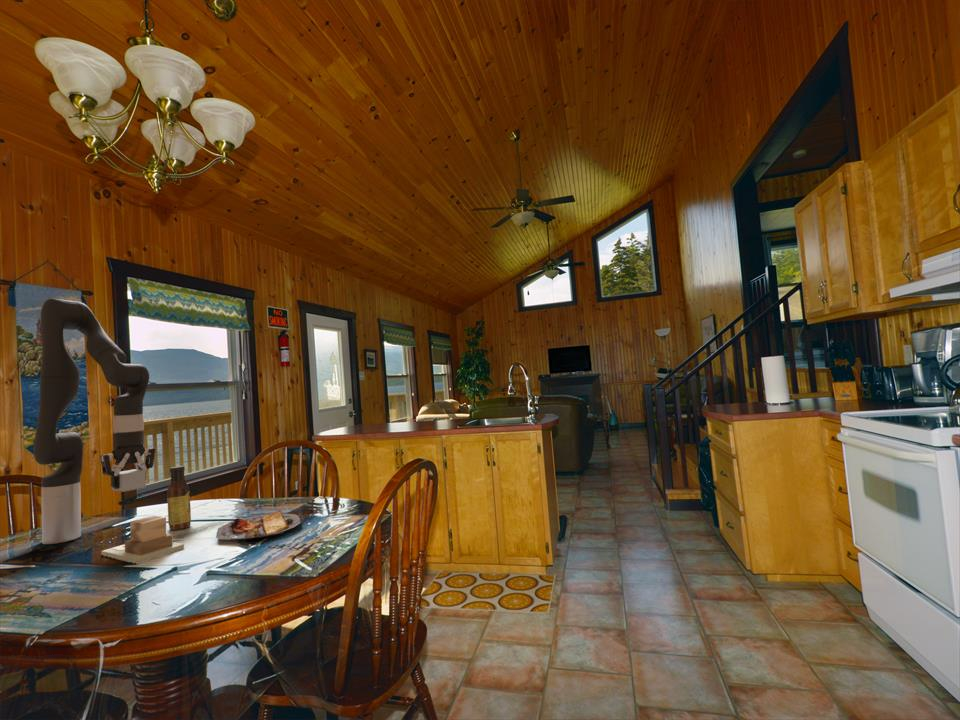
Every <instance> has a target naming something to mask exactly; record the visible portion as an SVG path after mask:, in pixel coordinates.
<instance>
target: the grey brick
mask: <svg viewBox="0 0 960 720" xmlns="http://www.w3.org/2000/svg"><path fill="white" fill-rule="evenodd" d="M118 476H120V488H119V489H113V487H111V491H116V492H123V493H124V492H128V491H133V490H138V489H143V488H146V487H147V486H146V484H147V483H146V480H147V470H146V471H145V470H138V469H128V470H122V471H120V473H119V475H118Z"/></svg>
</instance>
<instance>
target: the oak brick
mask: <svg viewBox="0 0 960 720" xmlns="http://www.w3.org/2000/svg"><path fill="white" fill-rule="evenodd" d="M166 517H167V516H159V515H150V516H147V517H143V518H139V519H135V520H132V521H131V520H130V522H129V523H130V524H129V526H130V531H129V532H130V539H131V540H133V541H138V542H146V541H149V540H153V539H156V538H160V537H163V536H166V534H167V518H166Z"/></svg>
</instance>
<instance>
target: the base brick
mask: <svg viewBox="0 0 960 720" xmlns="http://www.w3.org/2000/svg"><path fill="white" fill-rule="evenodd" d="M172 542H173V534H169V533H166V536H163V537H160V538H156V539H153V540H149V541H146V542H138V541H133V540H131V538H129V539H127V540H124V544H125V552H127V553H132V554H136V555H145V554H148V553H151V552H154V551H157V550H160V549H163V548H167V547H170V546H172Z"/></svg>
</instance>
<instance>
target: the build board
mask: <svg viewBox="0 0 960 720" xmlns="http://www.w3.org/2000/svg"><path fill="white" fill-rule="evenodd" d="M183 549H185V543H180V542H174V541H172V546H170V547H167V548H163V549H160V550H157V551H154V552H151V553H148V554H145V555H136V554H132V553H127V552H125V543H124V544H121V545H117V546H113V547H110V548H106V549H104V550H101V551H100V552H101V556H102V555H103V557H106V556H107V557H106V558H110V557H111V559H114V558H115V560H119V561H123V562H128V563H131V562H132V564H135V563H136V565H137V563H138V564H141V563H144V562H147V561H150V560H153V559H157V558H159V556H160V557H163V556H165V555H169V554H171V553H174V552H177V551H181V550H183ZM162 555H163V556H162ZM156 557H157V558H156ZM140 562H141V563H140Z"/></svg>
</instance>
